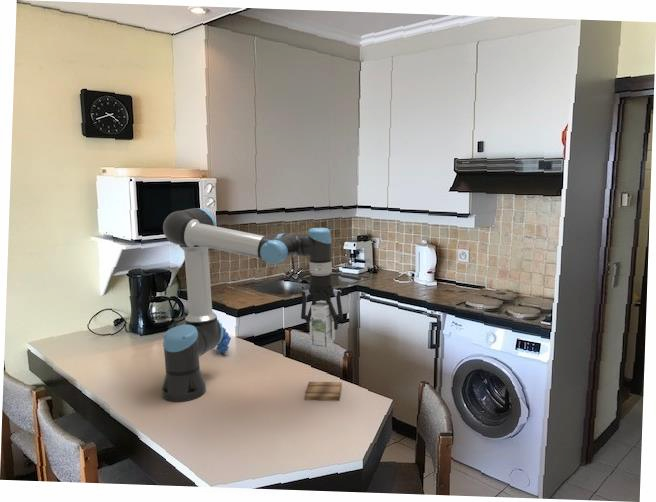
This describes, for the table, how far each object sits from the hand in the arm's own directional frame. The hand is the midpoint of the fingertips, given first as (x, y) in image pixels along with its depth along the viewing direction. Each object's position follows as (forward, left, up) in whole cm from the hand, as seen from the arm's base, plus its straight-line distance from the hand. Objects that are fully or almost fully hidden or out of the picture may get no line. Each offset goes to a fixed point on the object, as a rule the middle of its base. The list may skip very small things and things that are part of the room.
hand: (322, 338), depth 181 cm
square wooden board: (0, 0, -20) cm, 20 cm away
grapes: (-47, +38, -20) cm, 64 cm away
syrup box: (0, 0, -2) cm, 2 cm away
